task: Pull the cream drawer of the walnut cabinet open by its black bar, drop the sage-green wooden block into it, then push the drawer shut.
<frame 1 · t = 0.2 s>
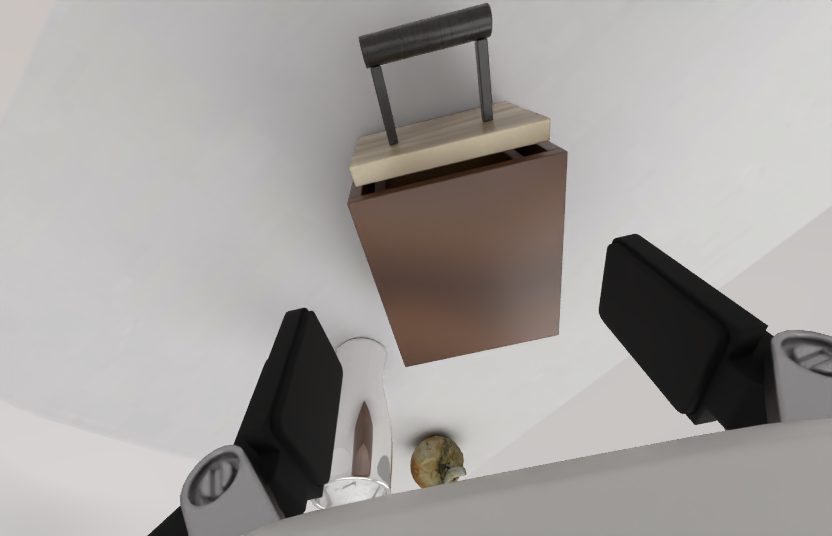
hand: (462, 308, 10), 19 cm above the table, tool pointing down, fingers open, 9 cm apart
onion: (434, 439, 51), on the table
drawer: (447, 185, 23), point 5 cm above the table, slide at 0.5 cm
beer glass: (361, 354, 39), on the table
cabinet: (447, 220, 30), on the table
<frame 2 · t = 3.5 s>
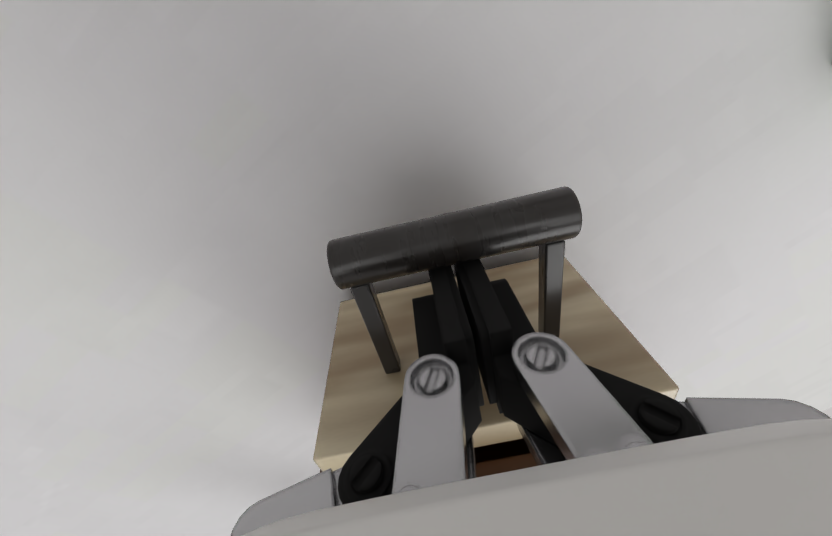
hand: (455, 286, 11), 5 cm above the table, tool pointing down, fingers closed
drawer: (474, 389, 15), point 5 cm above the table, slide at 0.7 cm, touching gripper
cabinet: (466, 375, 22), on the table
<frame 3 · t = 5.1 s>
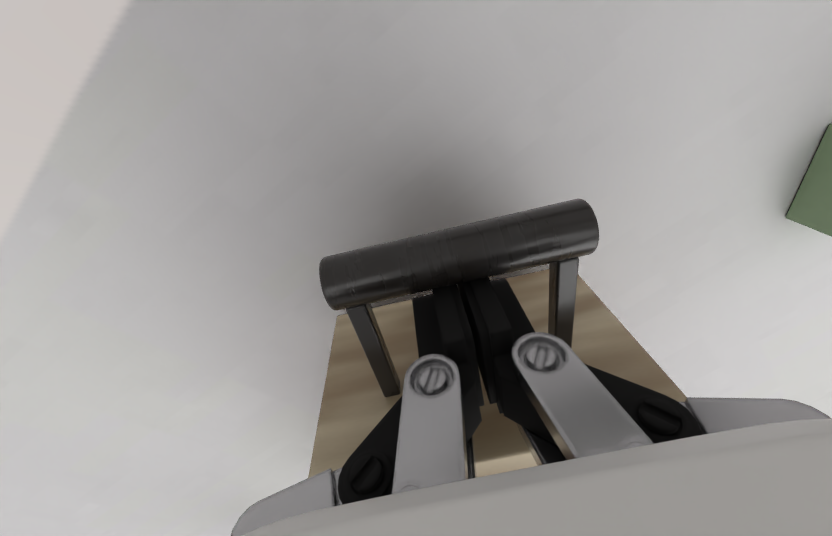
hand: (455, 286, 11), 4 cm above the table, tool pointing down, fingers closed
drawer: (479, 409, 14), point 5 cm above the table, slide at 7.1 cm, touching gripper
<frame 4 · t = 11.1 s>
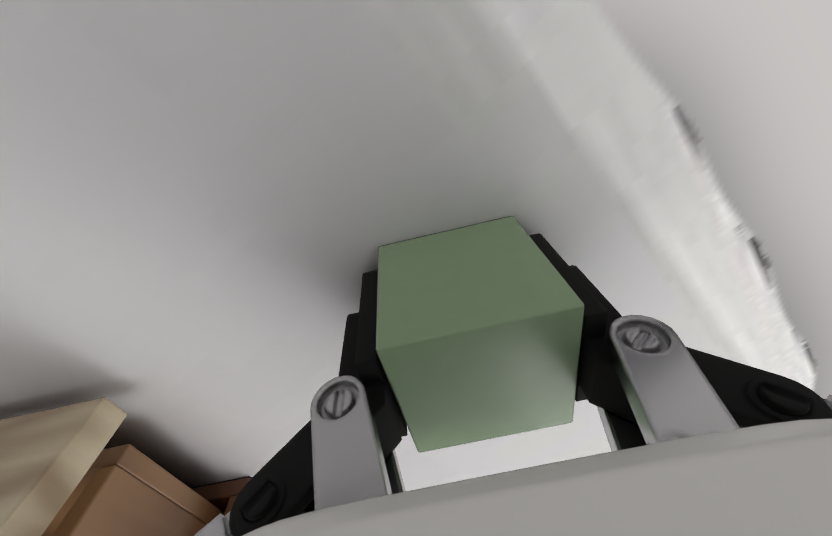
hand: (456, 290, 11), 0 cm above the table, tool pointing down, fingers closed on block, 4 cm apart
block: (454, 284, 12), on the table, touching gripper
when the fingers open (9 cm above the table, at t = 17.1 s): block drops 7 cm, resting on drawer.
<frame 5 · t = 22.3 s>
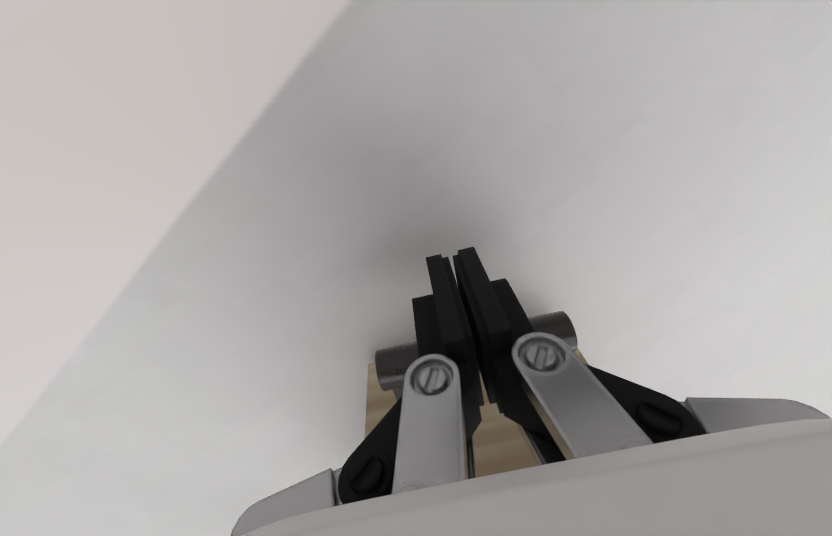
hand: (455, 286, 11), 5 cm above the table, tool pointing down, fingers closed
drawer: (487, 444, 18), point 5 cm above the table, slide at 7.3 cm, touching block, gripper
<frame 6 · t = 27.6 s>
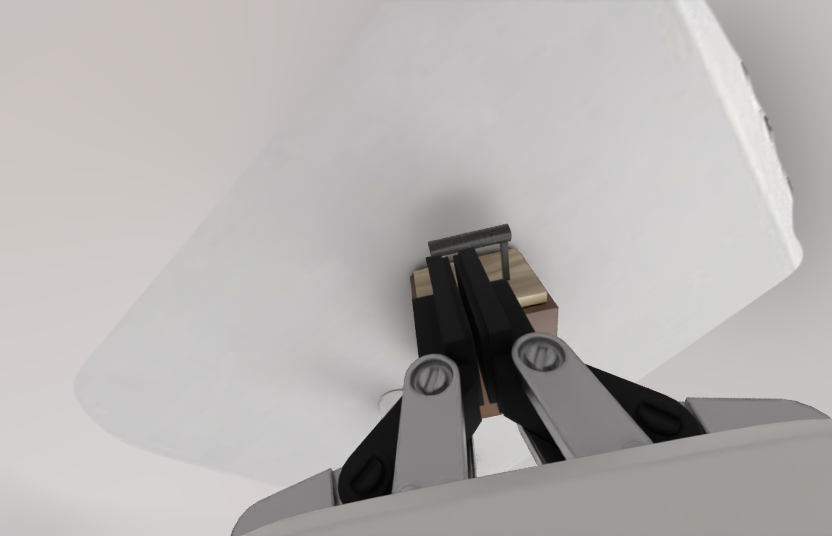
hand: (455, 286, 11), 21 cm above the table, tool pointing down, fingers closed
drawer: (477, 309, 34), point 5 cm above the table, slide at 0.0 cm, touching block, cabinet
beer glass: (398, 401, 49), on the table
cabinet: (471, 311, 40), on the table
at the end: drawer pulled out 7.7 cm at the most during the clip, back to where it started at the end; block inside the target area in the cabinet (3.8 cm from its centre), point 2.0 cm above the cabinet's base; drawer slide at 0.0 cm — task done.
